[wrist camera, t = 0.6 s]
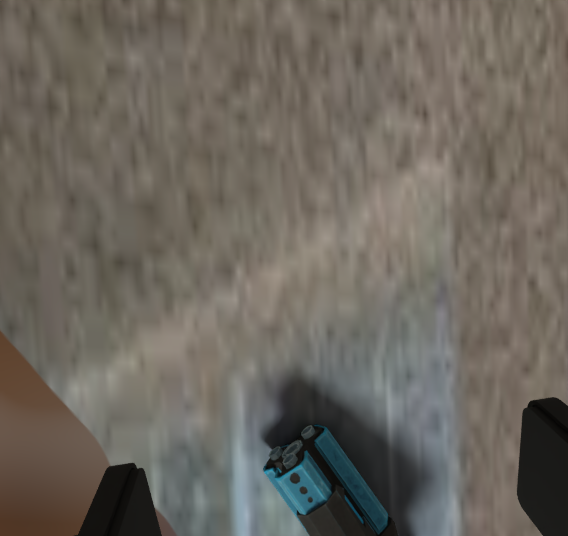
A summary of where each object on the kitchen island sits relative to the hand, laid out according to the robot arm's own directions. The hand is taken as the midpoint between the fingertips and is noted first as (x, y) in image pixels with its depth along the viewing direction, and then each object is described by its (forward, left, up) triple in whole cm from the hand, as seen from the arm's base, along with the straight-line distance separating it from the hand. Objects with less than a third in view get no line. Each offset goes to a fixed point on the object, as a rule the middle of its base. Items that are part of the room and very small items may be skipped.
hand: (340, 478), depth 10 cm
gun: (+30, +14, -29) cm, 44 cm away
